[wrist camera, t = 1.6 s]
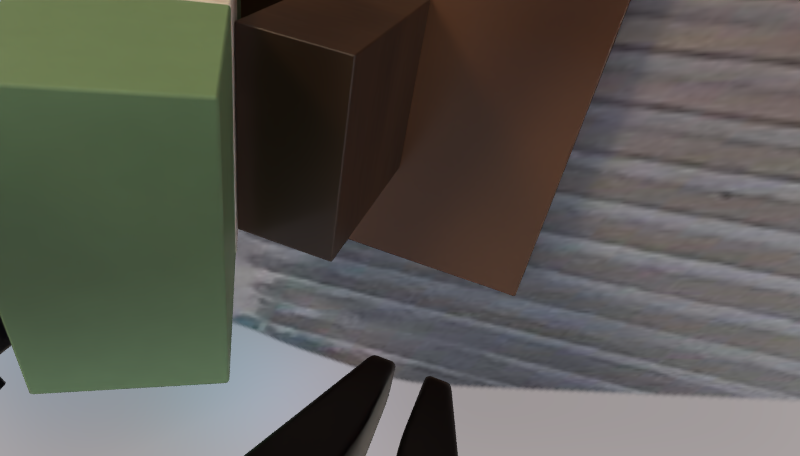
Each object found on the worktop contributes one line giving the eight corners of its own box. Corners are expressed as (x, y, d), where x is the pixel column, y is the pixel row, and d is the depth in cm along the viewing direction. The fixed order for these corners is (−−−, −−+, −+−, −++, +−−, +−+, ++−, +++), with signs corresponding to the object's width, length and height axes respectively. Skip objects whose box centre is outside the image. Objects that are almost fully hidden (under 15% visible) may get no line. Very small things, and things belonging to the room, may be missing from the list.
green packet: (165, 106, 22) (-187, 300, 13) (146, -93, 18) (-400, -31, 9) (383, 176, 21) (172, 458, 11) (417, -24, 17) (126, 149, 7)
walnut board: (58, 130, 26) (-83, 199, 21) (-31, -264, 18) (-302, -311, 13) (517, 287, 22) (484, 418, 17) (674, -117, 14) (702, -99, 9)
